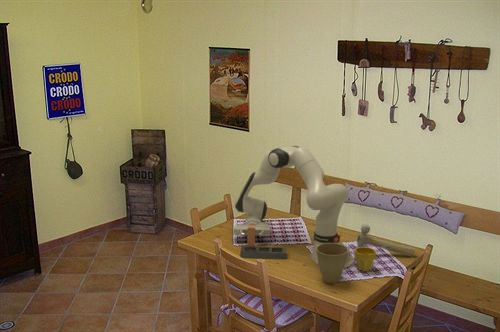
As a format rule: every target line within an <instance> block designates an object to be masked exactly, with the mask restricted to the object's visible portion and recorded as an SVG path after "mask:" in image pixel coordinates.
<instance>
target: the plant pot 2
mask: <svg viewBox="0 0 500 332" xmlns="http://www.w3.org/2000/svg"><path fill="white" fill-rule="evenodd" d="M376 258H377V251H376V250H375V249H374V248H372V247H367V246H362V247H359V248H358V247H356V248H355V249H354V259H355V262H356V269H357V270H358V269H359V271H360V270H362V271H361V272H363V271H368V272H370V271H371V270H372V268H373V264H374V262H375V261H374V260H376ZM369 270H370V271H369Z"/></svg>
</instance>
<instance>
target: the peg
mask: <svg viewBox="0 0 500 332" xmlns="http://www.w3.org/2000/svg"><path fill="white" fill-rule="evenodd" d="M246 236H247V237H246V238H247V240H246V241H247V246H255V247H256V235H255V225H248V231H247V235H246Z"/></svg>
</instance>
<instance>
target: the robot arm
mask: <svg viewBox="0 0 500 332" xmlns="http://www.w3.org/2000/svg"><path fill="white" fill-rule="evenodd" d="M291 167H295V169H296V170H297V172H298V174H299V175H300V177H301V179H302V180H303V182H304V183H305V185H306V189H307V195H306V201H305V202H306V204H307V206H308V208H310V209H311V210H313V211H319V212H318V214H317V215H316V216H315V221H314V222H315V223H314V224H315V225H314V226H315V227H314V231H313V247H312V252H311V254H310V258H311V260H312V261H313V262H314V263H315V264H316V265H319V263H318V258H317V250H316V248H317V246H318V245H320V244H323V243H337V244H341V245H344V246H346V247H347V248H348V255H347V260H346V263H345V267H344V269H347V267H348V268H350V267H351V266H353V265H352V264H354V263H355V262H356V258H355V256H351V250H350V248H349V246H347V245H346V244H345V243H343V242H342V241H341V237H342V234H338V219H339V215H340V212H341V211H342V207H343V205H344V203H345V202H346V200H347V199H348V197H349V192H348V191H349V190H348V188H347V187H346V186H345V185H344V184H342V183H331V184H327V185H326V184H325V183H324V180H323V179H324V175H325V171H324V169H323V168H322V167H321V165H320V164H319V162H318V161H317V159H316V157H315V156H314V155H313V154H312V153H311V152H310V150H308V149H307V148H306V147H304V146H298V145H292V146H282V147H277V148H273V149H270V150H268V151H267V152H266V153H265V154H264V157H263V159H262V161H261V163H260V167H259V168H258V170H256V171H253V172H252V173H251V174H250V176H249V177H248V178H247V179H248V180H247V181H246V183H245V185H244V186H243V188H242V190H241V192H240V194H239V195H238V196H237V198H236V199H235V202H234V208H235V209H236V211H237V212H239V213H243V214H244V213H245V214H247V215H246V217H245V221H244V224H241V223H239V224H235V225H234V226H233V234H234V235H238V236H241V237H245V236H247V231H248V225H255V236H258V238H262V237H263V236H270V235H271V226H270V225H269V222H268V220H264V219H265V217H267V216H266V215H267V211H268V205H267V202H266V201H265V200H262V199H259V198H255V197H251V196H249V194H250V192H251V190H252V189H253V188H254V187H255V186H259V185H260V186H262V185H270V184H273V183H274V182H275V181H277V179H278V177H279V174H280V172H281V169H282V168H283V169H284V168H291ZM349 266H350V267H349Z"/></svg>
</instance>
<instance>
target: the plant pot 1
mask: <svg viewBox="0 0 500 332" xmlns="http://www.w3.org/2000/svg"><path fill="white" fill-rule="evenodd" d="M344 245H345V244H344ZM344 245H341V244H337V243H323V244H320V245H318V246H317V248H316V250H317V258H318V263H319V264H318V267H319V271H320V274H321V277H322V280H323V281H324V282H326V283H327V284H336V283H338V282H340V279H341V276H342V275H343V272H344V269H345V268H344V267H345V263H346V260H347V255H348V248H349V247H348V246H347V245H345V246H344ZM346 246H347V247H348V248H347V247H346Z"/></svg>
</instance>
